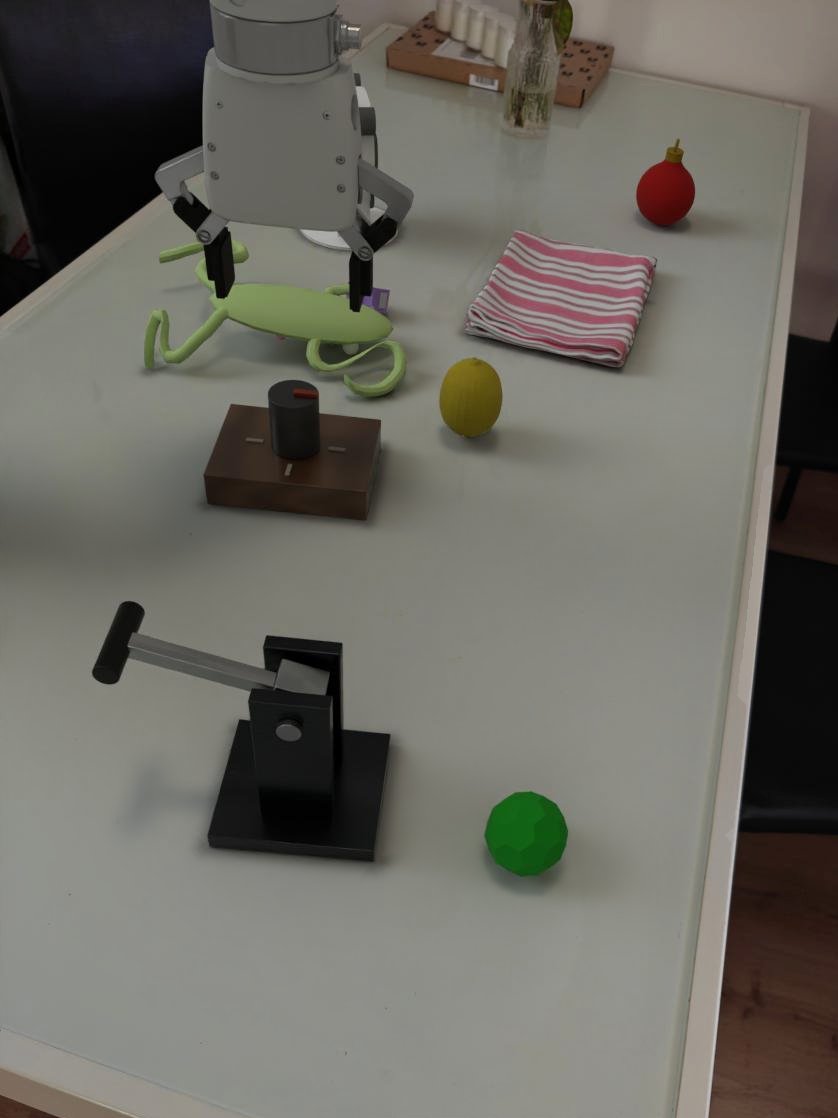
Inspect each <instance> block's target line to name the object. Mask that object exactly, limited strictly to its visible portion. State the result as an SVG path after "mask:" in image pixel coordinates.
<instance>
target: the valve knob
mask: <svg viewBox="0 0 838 1118" xmlns="http://www.w3.org/2000/svg"><path fill="white" fill-rule="evenodd" d="M267 403H268V408H269V419H270V433H271V447H272V449H273V451H274V452H275V453H276V454H277V455H279V456H280V457H283V458H286V459H291V460H301V459H306V458H309V457H311V456H313V455H315V454H316V453H317V452H318V451H319V449H320V413H321V412H320V392H319V390H318V388H317V387H316V386H315V385H314V384H312V383H311V382H308V381H305V380H301V379H285V380H280V381H278V382H276V383H274V384H273V385H271V386H270V388H269V389H268V391H267Z"/></svg>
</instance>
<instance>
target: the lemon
mask: <svg viewBox="0 0 838 1118" xmlns="http://www.w3.org/2000/svg"><path fill="white" fill-rule="evenodd" d="M502 387H503V385H502V382H501V378H500V375H499V374H498V372H497V371H496V368H494V367H493V365H491V364H490V363H488V362H487V361H485V360H483V359H480V358H478V357H469V358H464V359H461V360H459V361H457V362H456V363H454V364H453V365H452V366H451V367H449V369H448V370H447V372H446V373H445V375H444V377H443V380H442V383H441V386H440V390H439V400H438V402H439V403H438V404H439V411H440V415H441V417H442V420H443V422H444V424H445V425H446V426H447V427H448V428H449V429H450V430H451V431H452V432H454V433H455V434H457V435H459V436H463V437H464V438H465V439H466V438H467V439H468V438H473V437H479V436H481V435H484V434H485V433H487V432H488V431H490V430H491V429H492V428H493V427H494V426H495V424H496V422H497V421H498V420H499V418H500V413H501V410H502V406H503V398H504V397H503V396H504V395H503V388H502Z"/></svg>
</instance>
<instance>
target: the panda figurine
mask: <svg viewBox="0 0 838 1118" xmlns="http://www.w3.org/2000/svg"><path fill="white" fill-rule="evenodd" d="M353 74H354V79H355V85H356V91H357V97H358V106H359V115H360V125H361V138H362V155H363V160H365V161H366V162H368V163H369V164H371V165H373V166H374V167H376V168H377V169H379V145H378V144H379V143H378V135H377V117H376V110H375V109H376V108H375V107H374V106H371V101H370V99H369V96H368V93H367V90H366V88H365V87H364V86H362V78H361V74H360V72H353ZM375 198H376V197H375V196H374V195H372V194H371V193H369V192H367V191H366V190H364V189H363V199H362V203H361V204H357V207H358V208H359V209H360V210H361V212H362V213H363V214H364V215H365V217H366V218H367V219H368V220H369V222H370V223H371V224H372V223H374V222H375V221H376V220H377V219H378V218H379V217H380V216H382V215H383V214H384V213H385V211H386V210H383V209H381V208H378V207H375V201H376V199H375ZM299 231H300V233H301V234H302V235H303V236H304V237H305V238H306V239H307V240H309V241H311V242H312V243H315V244H316V245H319V246H322V247H325V248H329V249H333V250H339V251H349V252H350V251H351V252H352V249H351V248H350V247H349V246H348V244H347V243H346V242H345V241H344V239H343V238H342V237H341V236H340V235H339V233H338V232H326V231H314V230H304V229H299ZM398 233H399V229H398V230H397V232H396V234H395V236H394V237H393V238H392V239H391V240H389V241H388V242H387V243H386V244H385V245H384V246H386V245H388V244H390V243H391V242H393V241H394V240H395V239H396V237H397V235H398Z"/></svg>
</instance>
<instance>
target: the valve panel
mask: <svg viewBox="0 0 838 1118" xmlns="http://www.w3.org/2000/svg"><path fill="white" fill-rule="evenodd" d="M319 413H320V449H319V451H318V452H317V453H316V454H315V455H313V456H311V457H309V458H306V459H301V460H291V459H286V458H283V457H280V456H279V455H277V454H276V453H275V452H274V451H273V449H272V447H271V433H270V419H269V407H265V406H257V405H246V404H238V403H230V405H229V408H228V409H227V412H226V414H225V418H224V420H223V423H222V425H221V428H220V431H219V433H218V436H217V438H216V441H215V444H214V446H213V449H212V451H211V454H210V456H209V459H208V462H207V465H206V466H205V469H204V472H203V475H202V477H203V482H204V483H203V484H204V490H205V498H206V499H205V500H206V504H208V505H217V506H225V507H235V508H245V509H246V508H247V509H254V510H255V509H256V510H257V509H258V510H266V511H273V512H274V511H275V512H284V513H285V512H286V513H295V514H304V515H314V516H321V517H322V516H323V517H331V518H332V517H333V518H340V519H341V518H343V519H352V520H361V521H362V520H363V521H366V520H367V519H368V512H369V508H370V504H371V503H370V502H371V499H372V493H373V488H374V484H375V483H374V482H375V478H376V473H377V469H378V468H377V467H378V463H379V458H380V453H381V448H382V447H381V445H382V444H381V442H382V419H379V418H368V417H359V416H351V415H342V414H341V415H340V414H333V413H332V414H331V413H322V412H319Z"/></svg>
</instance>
